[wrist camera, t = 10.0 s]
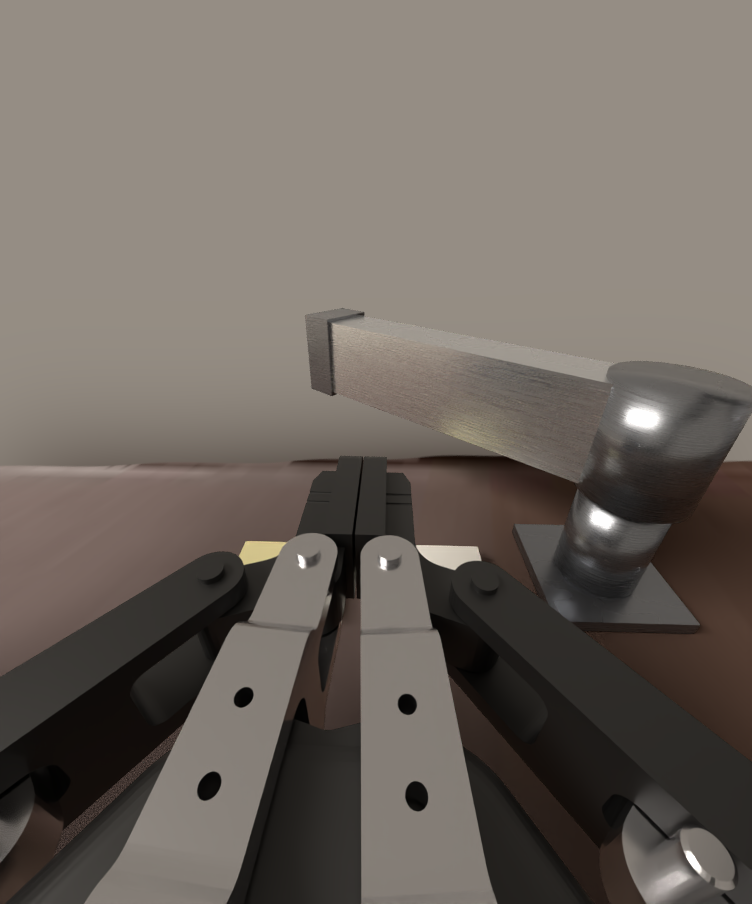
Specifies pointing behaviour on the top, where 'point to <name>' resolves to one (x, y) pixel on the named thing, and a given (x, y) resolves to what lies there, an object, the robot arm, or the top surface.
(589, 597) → the gray square plate
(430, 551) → the label plate
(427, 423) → the bar
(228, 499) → the top surface
